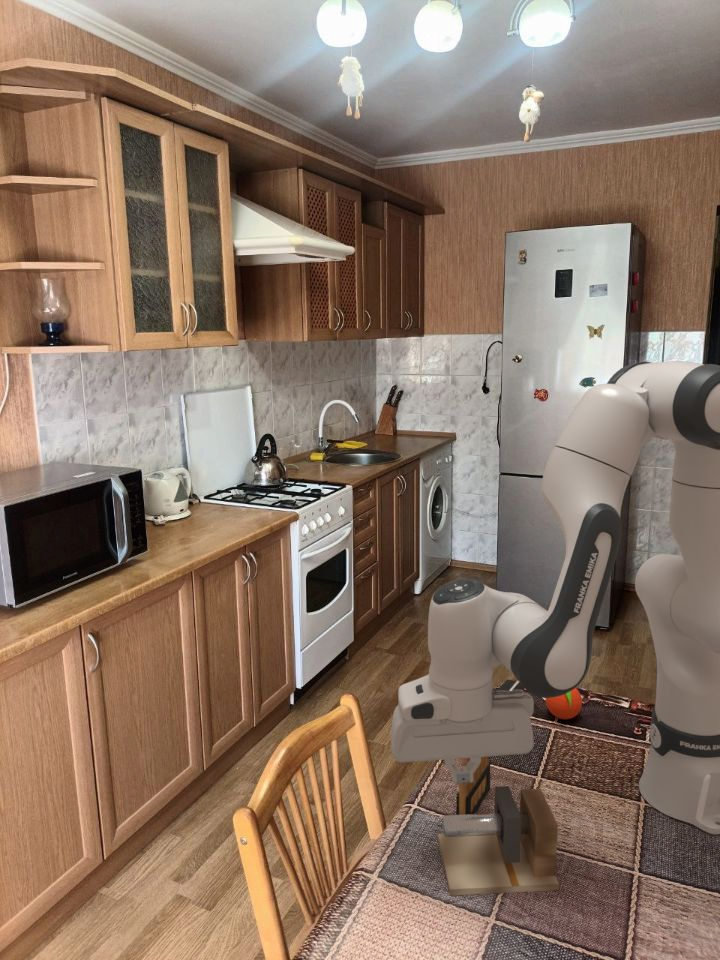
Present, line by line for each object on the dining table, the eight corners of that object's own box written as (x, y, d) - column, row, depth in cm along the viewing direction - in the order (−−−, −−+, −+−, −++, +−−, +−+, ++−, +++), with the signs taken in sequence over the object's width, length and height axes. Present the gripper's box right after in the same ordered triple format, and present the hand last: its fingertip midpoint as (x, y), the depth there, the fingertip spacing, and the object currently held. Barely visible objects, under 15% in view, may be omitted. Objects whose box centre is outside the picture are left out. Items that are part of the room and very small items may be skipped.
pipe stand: (535, 834, 109) (537, 782, 108) (558, 890, 99) (561, 832, 97) (437, 839, 109) (438, 786, 107) (450, 895, 98) (450, 837, 96)
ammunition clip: (466, 827, 111) (467, 757, 109) (455, 823, 112) (456, 754, 110) (490, 789, 121) (491, 724, 118) (479, 785, 121) (481, 721, 119)
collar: (507, 828, 107) (508, 786, 105) (519, 862, 100) (521, 817, 98) (493, 828, 107) (495, 786, 105) (505, 863, 100) (506, 818, 98)
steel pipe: (534, 824, 104) (535, 805, 104) (540, 839, 101) (541, 819, 101) (442, 828, 104) (442, 809, 103) (445, 843, 101) (445, 824, 100)
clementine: (587, 728, 138) (589, 694, 136) (552, 729, 138) (553, 695, 136) (575, 707, 146) (576, 674, 144) (540, 708, 146) (542, 675, 144)
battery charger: (504, 729, 138) (505, 674, 136) (523, 734, 136) (525, 679, 134) (490, 746, 133) (491, 689, 130) (510, 752, 131) (512, 695, 128)
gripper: (527, 678, 105) (527, 762, 108) (387, 687, 104) (391, 772, 107) (540, 700, 99) (539, 789, 102) (391, 710, 98) (395, 799, 101)
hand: (462, 780), depth 104 cm, fingers closed
